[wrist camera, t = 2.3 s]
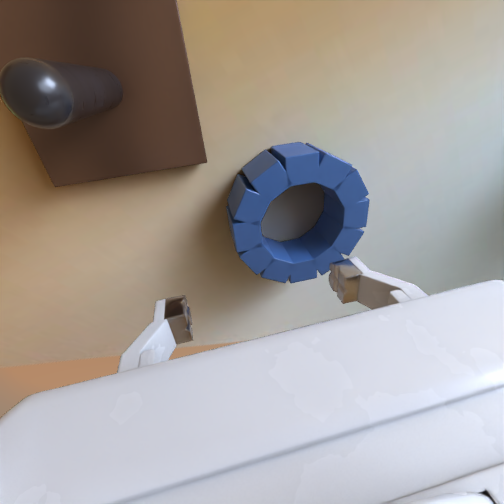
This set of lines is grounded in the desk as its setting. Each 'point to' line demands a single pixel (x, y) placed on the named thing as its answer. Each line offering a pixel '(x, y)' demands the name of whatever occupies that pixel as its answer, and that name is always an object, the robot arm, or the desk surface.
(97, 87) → the peg stand
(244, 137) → the desk surface
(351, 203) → the ring
